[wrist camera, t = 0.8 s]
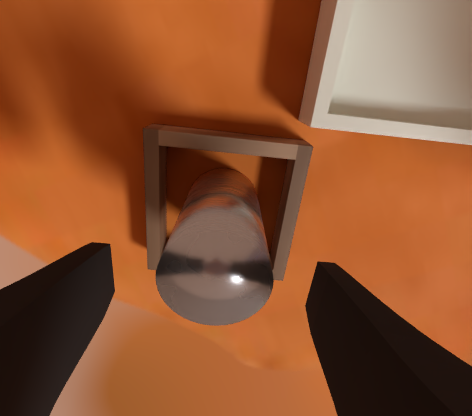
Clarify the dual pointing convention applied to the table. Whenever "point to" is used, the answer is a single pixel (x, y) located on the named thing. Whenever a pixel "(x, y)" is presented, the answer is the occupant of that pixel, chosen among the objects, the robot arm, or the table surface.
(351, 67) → the beige shallow square tray
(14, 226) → the table surface
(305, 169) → the walnut collar
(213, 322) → the dowel pin
